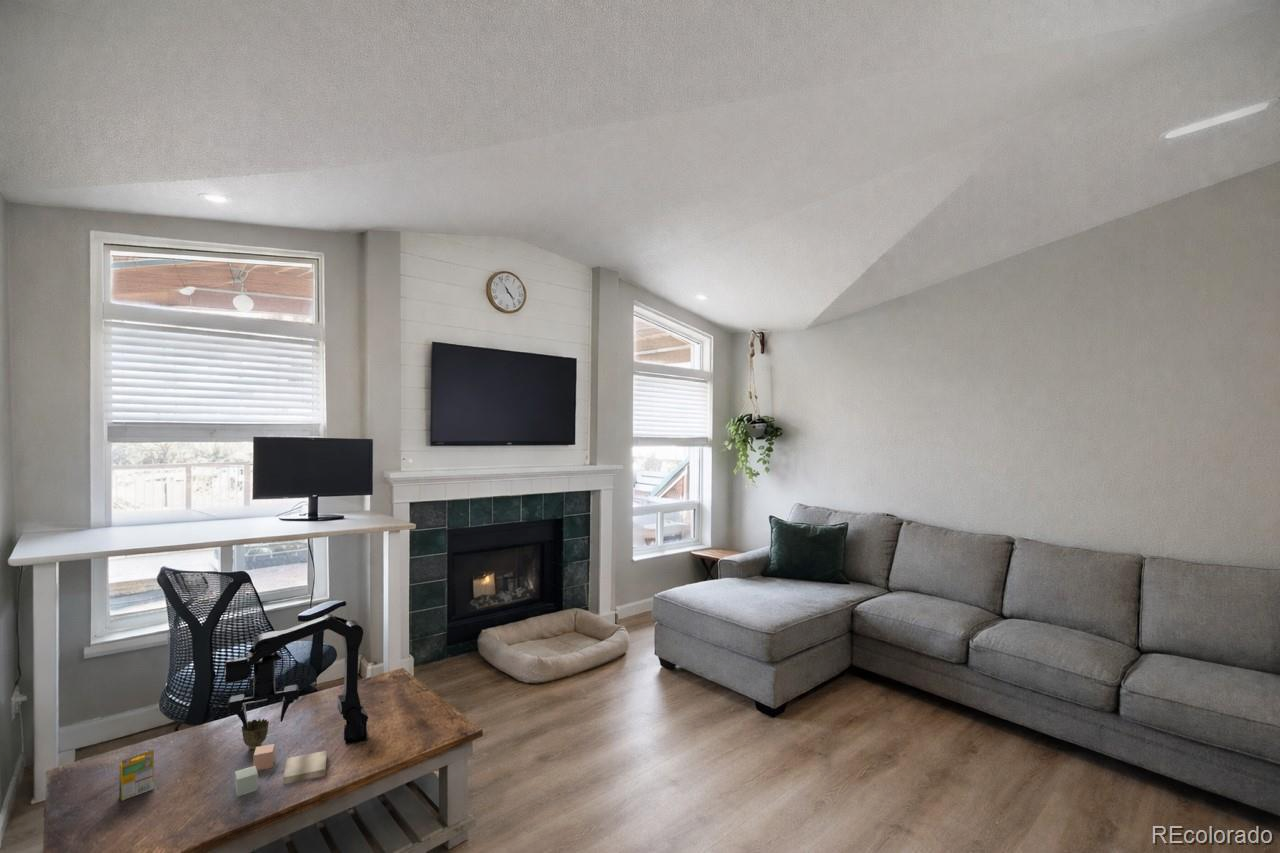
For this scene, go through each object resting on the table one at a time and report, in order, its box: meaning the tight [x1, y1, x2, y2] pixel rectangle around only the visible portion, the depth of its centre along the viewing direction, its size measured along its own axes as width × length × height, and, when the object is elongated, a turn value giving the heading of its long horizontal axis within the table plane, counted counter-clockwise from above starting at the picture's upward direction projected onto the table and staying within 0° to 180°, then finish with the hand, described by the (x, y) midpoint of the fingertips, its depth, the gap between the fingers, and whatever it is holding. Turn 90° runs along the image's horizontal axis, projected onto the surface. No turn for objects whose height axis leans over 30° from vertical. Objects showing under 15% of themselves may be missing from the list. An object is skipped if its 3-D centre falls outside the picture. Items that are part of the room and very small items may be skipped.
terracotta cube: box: [252, 743, 276, 771], centre depth 187 cm, size 5×5×5 cm
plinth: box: [282, 750, 328, 785], centre depth 185 cm, size 11×11×2 cm
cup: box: [241, 718, 270, 751], centre depth 196 cm, size 8×7×8 cm
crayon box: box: [118, 749, 155, 802], centre depth 172 cm, size 7×3×12 cm, turn 141°
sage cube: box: [234, 765, 259, 797], centre depth 175 cm, size 5×5×5 cm
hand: (264, 724), depth 188 cm, fingers open, 9 cm apart
